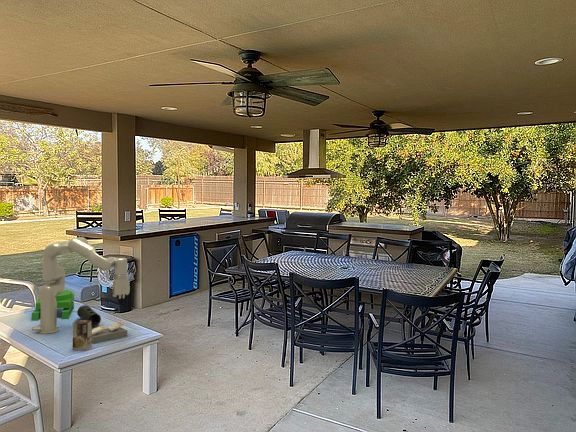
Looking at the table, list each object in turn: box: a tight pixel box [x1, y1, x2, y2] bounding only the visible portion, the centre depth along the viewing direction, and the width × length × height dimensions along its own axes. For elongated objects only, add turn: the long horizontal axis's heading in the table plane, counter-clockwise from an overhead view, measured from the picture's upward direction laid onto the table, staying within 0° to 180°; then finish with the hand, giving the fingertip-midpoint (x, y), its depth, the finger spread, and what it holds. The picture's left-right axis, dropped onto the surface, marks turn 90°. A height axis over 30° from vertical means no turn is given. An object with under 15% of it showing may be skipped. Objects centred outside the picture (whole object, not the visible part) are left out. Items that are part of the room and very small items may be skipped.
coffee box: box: [72, 319, 93, 351], centre depth 258 cm, size 9×6×16 cm
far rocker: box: [106, 321, 125, 331], centre depth 283 cm, size 9×5×1 cm, turn 138°
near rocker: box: [92, 324, 107, 335], centre depth 274 cm, size 9×5×1 cm, turn 138°
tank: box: [31, 289, 75, 322], centre depth 323 cm, size 24×35×16 cm
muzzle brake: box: [76, 304, 102, 329], centre depth 308 cm, size 10×28×10 cm, turn 39°
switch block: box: [92, 326, 128, 345], centre depth 278 cm, size 22×12×5 cm, turn 138°
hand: (120, 304), depth 284 cm, fingers closed
